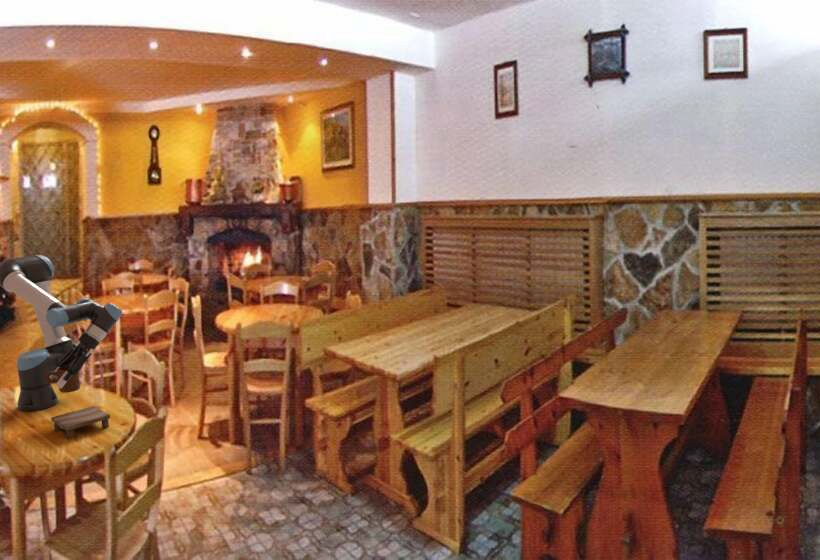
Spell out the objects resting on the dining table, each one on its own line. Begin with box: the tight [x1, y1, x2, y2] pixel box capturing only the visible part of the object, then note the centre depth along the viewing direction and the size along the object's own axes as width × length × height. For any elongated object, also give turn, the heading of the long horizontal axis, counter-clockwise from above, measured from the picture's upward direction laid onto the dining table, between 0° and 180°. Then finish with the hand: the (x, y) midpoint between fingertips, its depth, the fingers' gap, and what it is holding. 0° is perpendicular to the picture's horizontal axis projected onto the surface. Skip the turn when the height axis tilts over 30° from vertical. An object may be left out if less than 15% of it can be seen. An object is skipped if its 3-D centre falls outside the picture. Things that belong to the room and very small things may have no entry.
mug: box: [45, 365, 81, 394], centre depth 261 cm, size 12×8×9 cm, turn 124°
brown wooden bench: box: [50, 405, 111, 440], centre depth 252 cm, size 15×16×5 cm
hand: (54, 384), depth 258 cm, fingers closed on mug, 8 cm apart
